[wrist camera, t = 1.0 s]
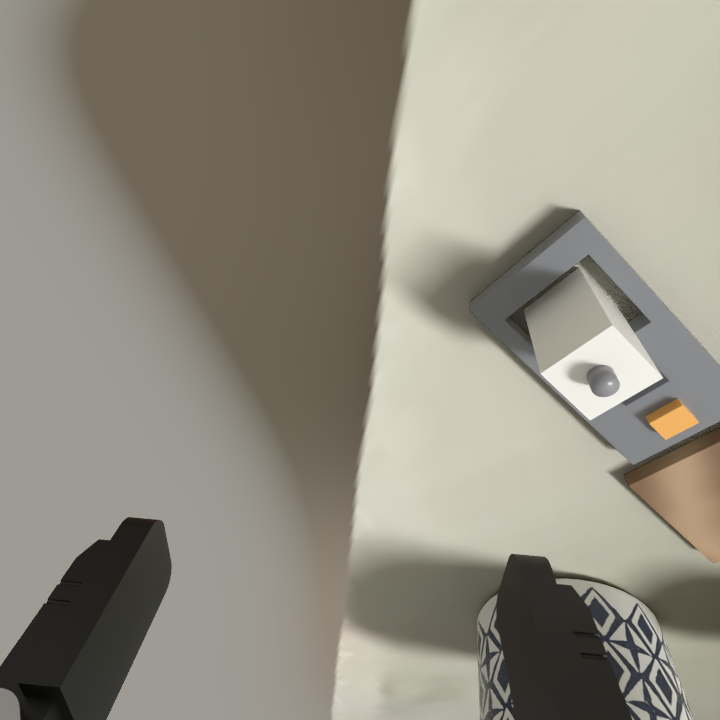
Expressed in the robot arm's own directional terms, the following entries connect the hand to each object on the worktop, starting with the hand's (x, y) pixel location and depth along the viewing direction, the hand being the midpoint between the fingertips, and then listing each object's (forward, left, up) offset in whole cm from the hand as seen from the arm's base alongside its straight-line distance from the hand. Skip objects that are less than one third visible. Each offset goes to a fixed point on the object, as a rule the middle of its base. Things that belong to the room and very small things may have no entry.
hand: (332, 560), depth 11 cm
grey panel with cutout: (-4, +15, -25) cm, 29 cm away
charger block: (-4, +11, -25) cm, 27 cm away
